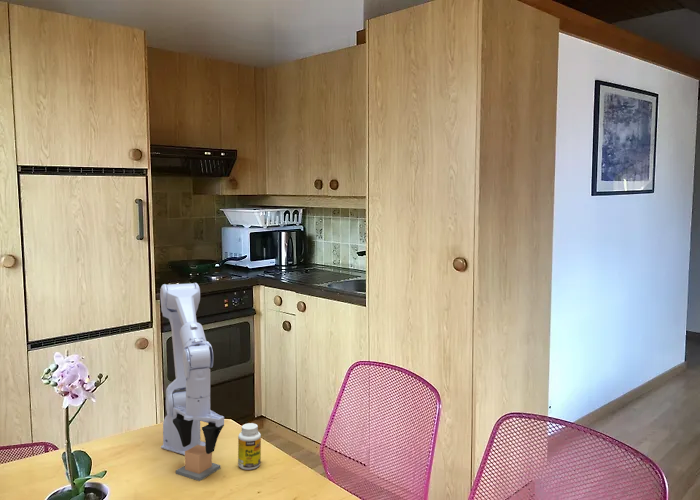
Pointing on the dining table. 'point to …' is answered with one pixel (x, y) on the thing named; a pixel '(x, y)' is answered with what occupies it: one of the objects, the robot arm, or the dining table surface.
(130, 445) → the dining table surface
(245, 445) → the supplement bottle
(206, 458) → the block
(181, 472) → the mat
